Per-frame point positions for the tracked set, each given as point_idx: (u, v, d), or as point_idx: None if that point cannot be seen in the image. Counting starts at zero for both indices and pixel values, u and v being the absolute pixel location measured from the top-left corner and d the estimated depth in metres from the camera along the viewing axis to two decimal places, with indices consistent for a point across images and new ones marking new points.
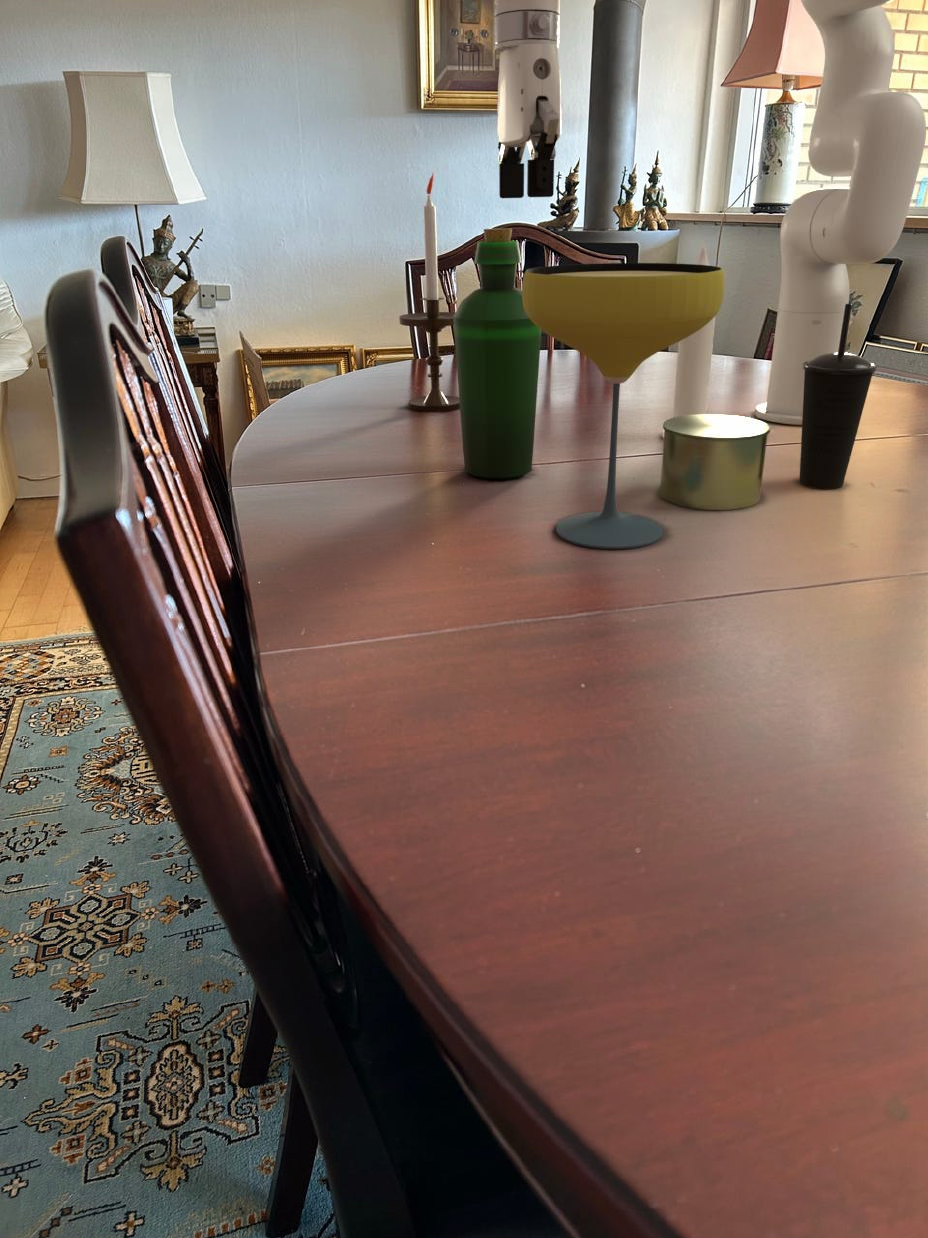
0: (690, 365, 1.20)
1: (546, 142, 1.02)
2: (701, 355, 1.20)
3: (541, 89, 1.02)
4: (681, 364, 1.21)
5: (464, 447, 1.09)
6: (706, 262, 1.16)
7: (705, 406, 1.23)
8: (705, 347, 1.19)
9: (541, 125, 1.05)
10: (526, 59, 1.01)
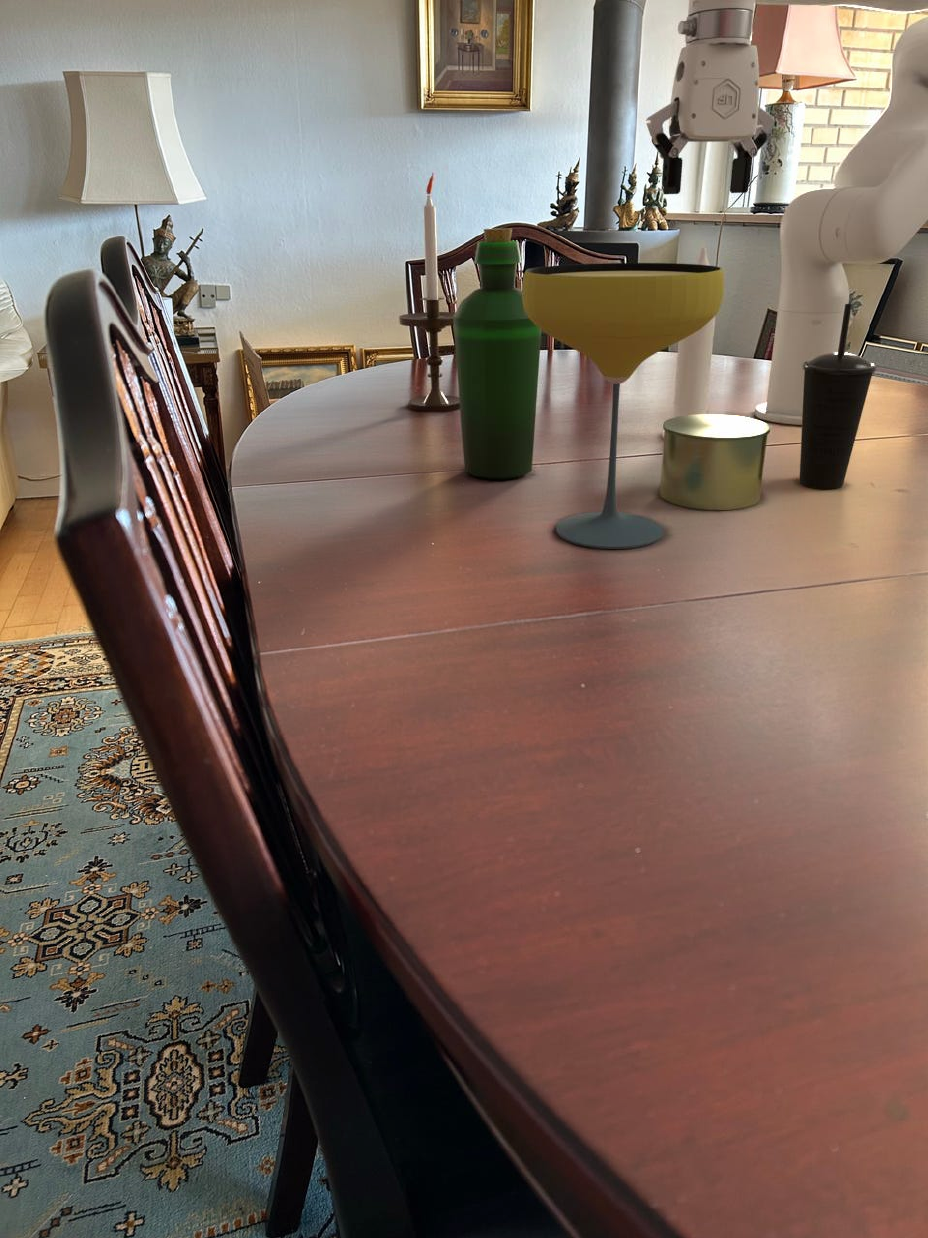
0: (690, 365, 1.20)
1: (654, 143, 1.09)
2: (701, 355, 1.20)
3: (676, 91, 1.07)
4: (681, 364, 1.21)
5: (464, 447, 1.09)
6: (706, 262, 1.16)
7: (705, 406, 1.23)
8: (705, 347, 1.19)
9: None
10: (677, 64, 1.08)
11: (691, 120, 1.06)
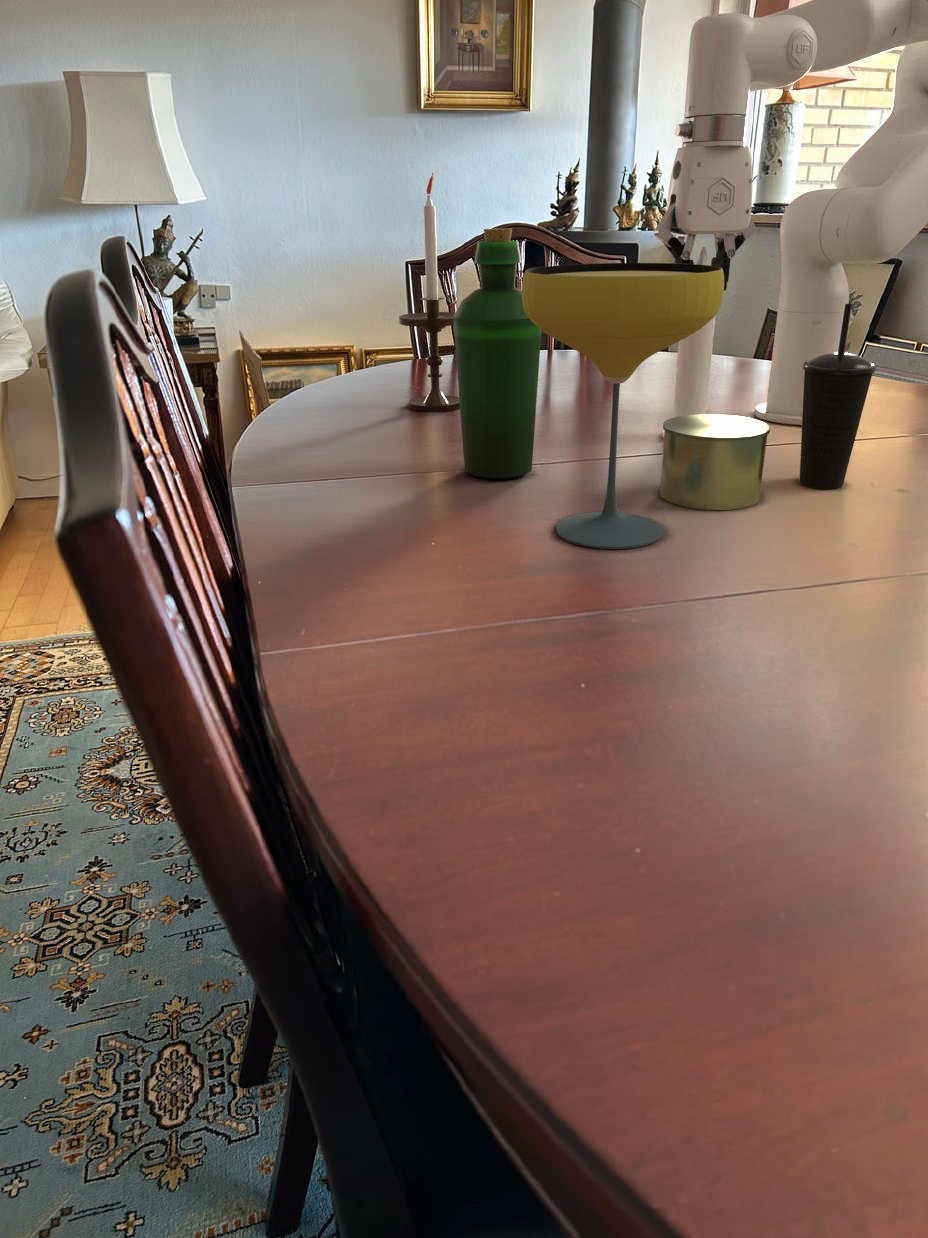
0: (690, 365, 1.20)
1: (667, 246, 1.15)
2: (701, 355, 1.20)
3: (673, 188, 1.12)
4: (681, 364, 1.21)
5: (464, 447, 1.09)
6: (706, 262, 1.16)
7: (705, 406, 1.23)
8: (705, 347, 1.19)
9: None
10: (674, 162, 1.12)
11: (687, 217, 1.11)
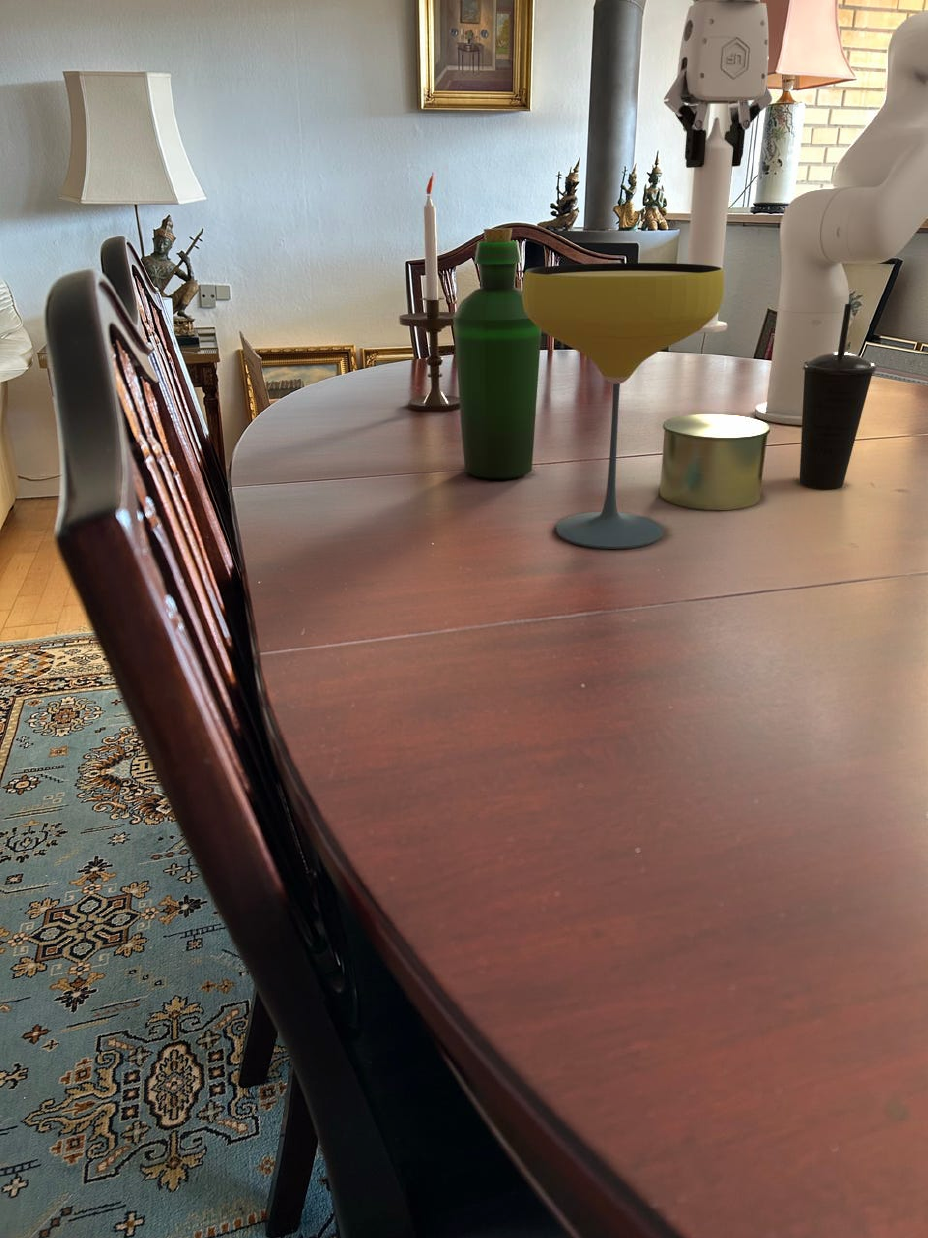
0: (702, 248, 1.14)
1: (677, 115, 1.08)
2: (714, 236, 1.13)
3: (684, 51, 1.05)
4: (693, 247, 1.15)
5: (464, 447, 1.09)
6: (719, 134, 1.10)
7: None
8: (718, 228, 1.13)
9: None
10: (685, 23, 1.06)
11: (699, 80, 1.04)
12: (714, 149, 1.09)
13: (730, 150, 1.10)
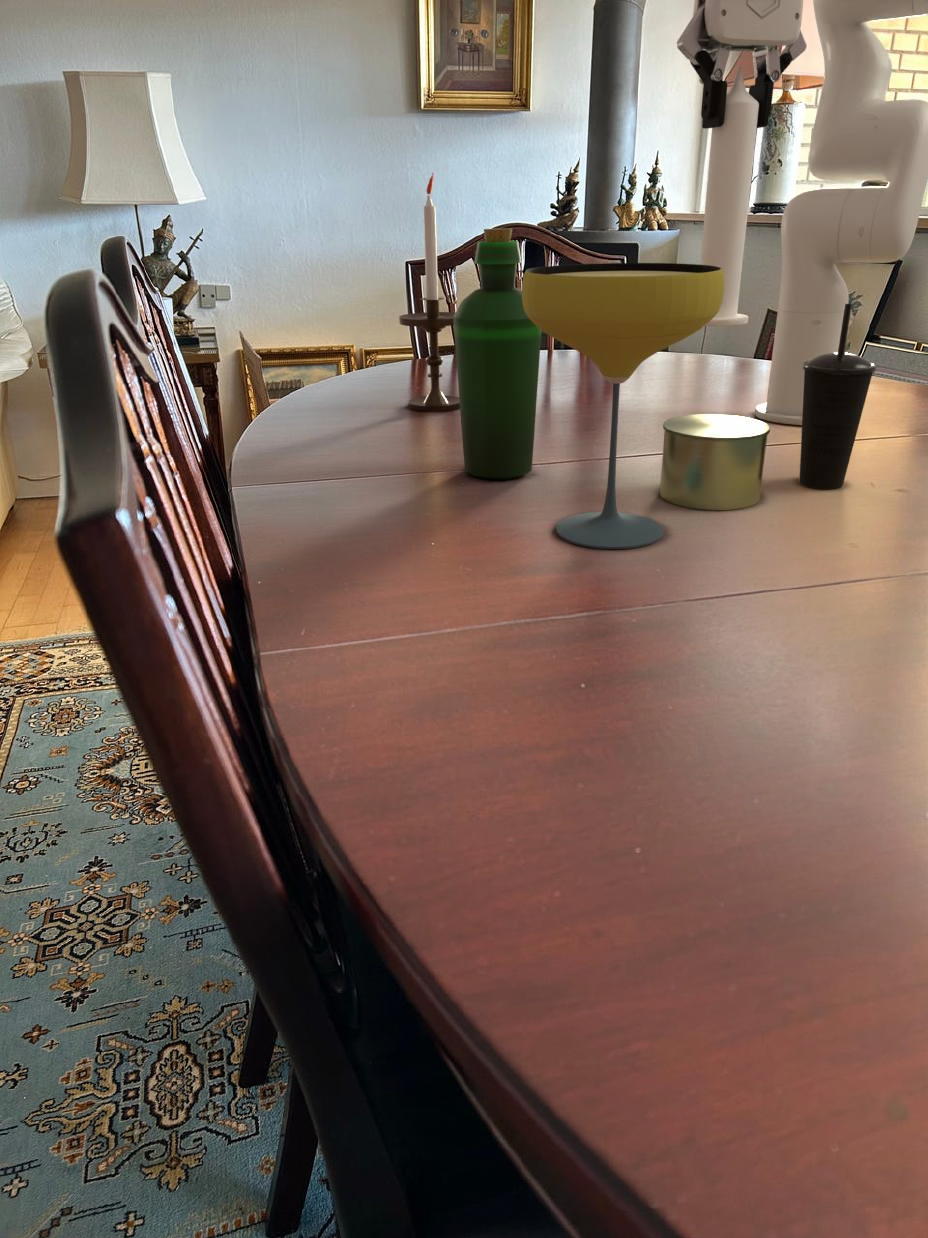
0: (721, 224, 0.95)
1: (693, 63, 0.90)
2: (735, 211, 0.95)
3: None
4: (709, 224, 0.96)
5: (464, 446, 1.09)
6: (743, 87, 0.91)
7: (738, 280, 0.98)
8: (740, 200, 0.94)
9: None
10: None
11: (721, 18, 0.86)
12: (736, 105, 0.91)
13: (756, 106, 0.91)
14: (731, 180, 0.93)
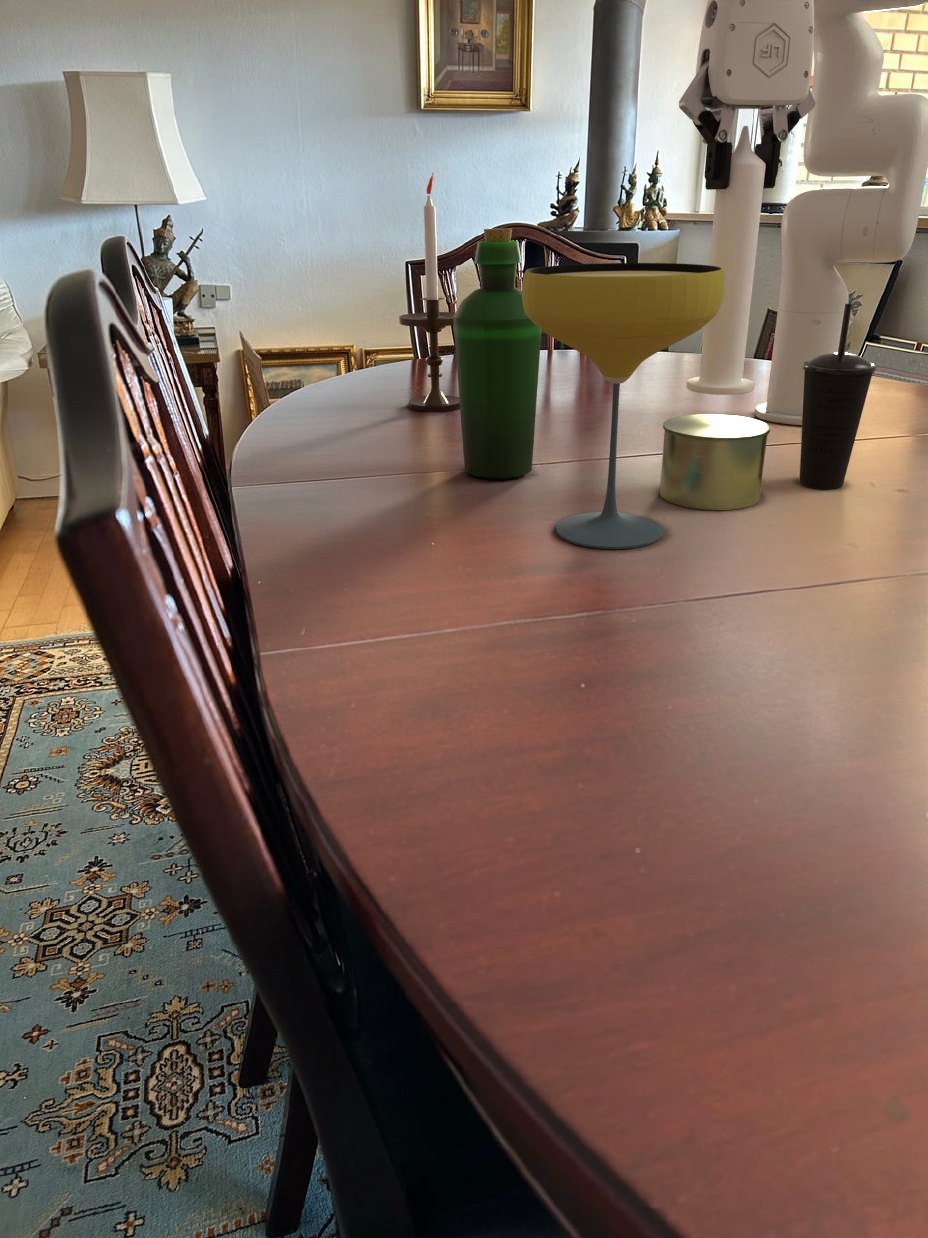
0: (725, 289, 0.90)
1: (696, 124, 0.85)
2: (740, 275, 0.90)
3: (706, 41, 0.82)
4: None
5: (464, 446, 1.09)
6: (748, 147, 0.86)
7: (744, 346, 0.93)
8: (746, 265, 0.89)
9: None
10: None
11: (726, 78, 0.81)
12: (741, 166, 0.86)
13: (762, 167, 0.86)
14: (736, 244, 0.88)
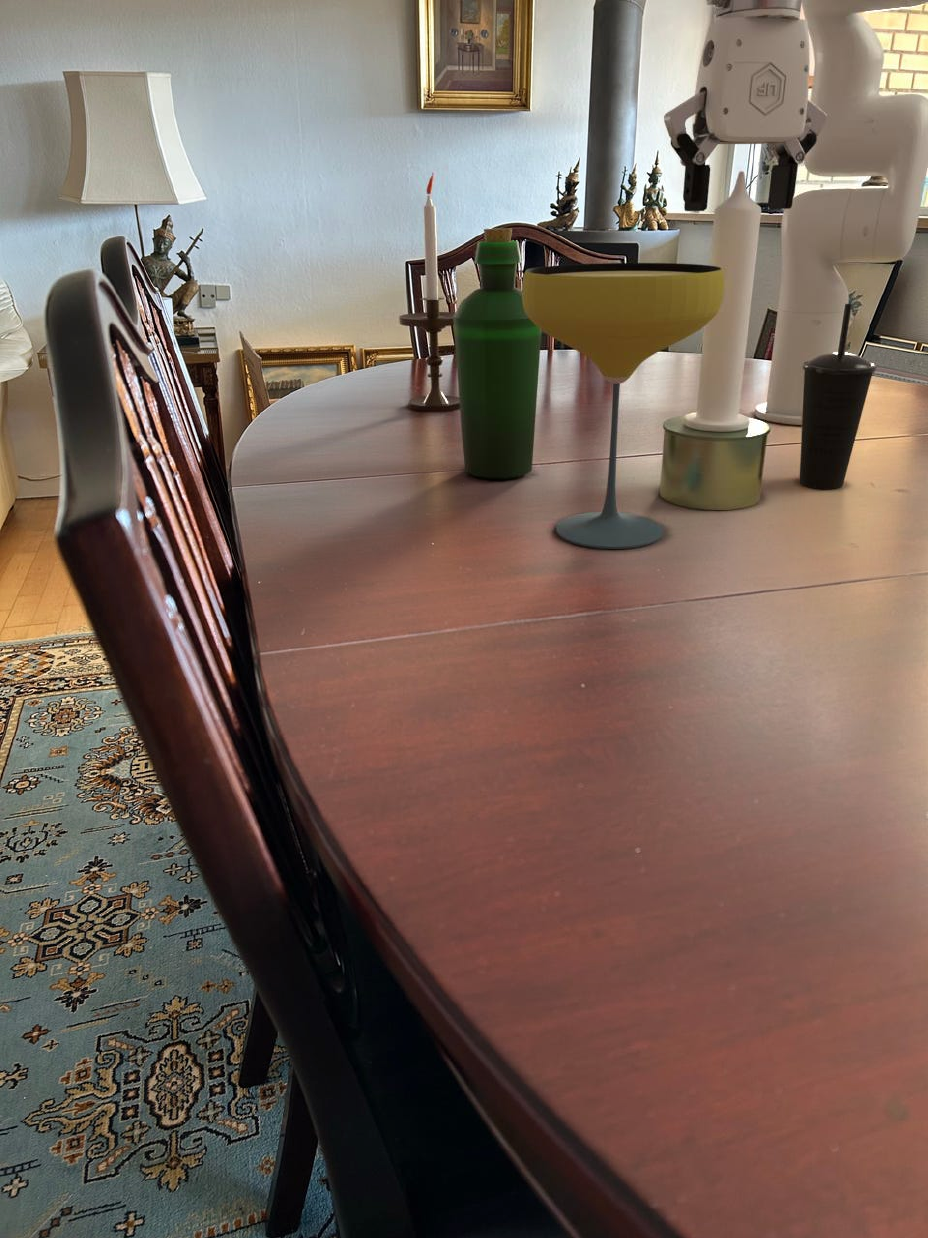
0: (722, 330, 0.92)
1: (674, 146, 0.85)
2: (736, 316, 0.91)
3: (703, 79, 0.83)
4: (710, 329, 0.93)
5: (464, 446, 1.09)
6: (744, 192, 0.88)
7: (740, 384, 0.95)
8: (742, 306, 0.91)
9: None
10: None
11: (722, 117, 0.82)
12: (738, 211, 0.87)
13: (758, 212, 0.88)
14: (732, 286, 0.90)
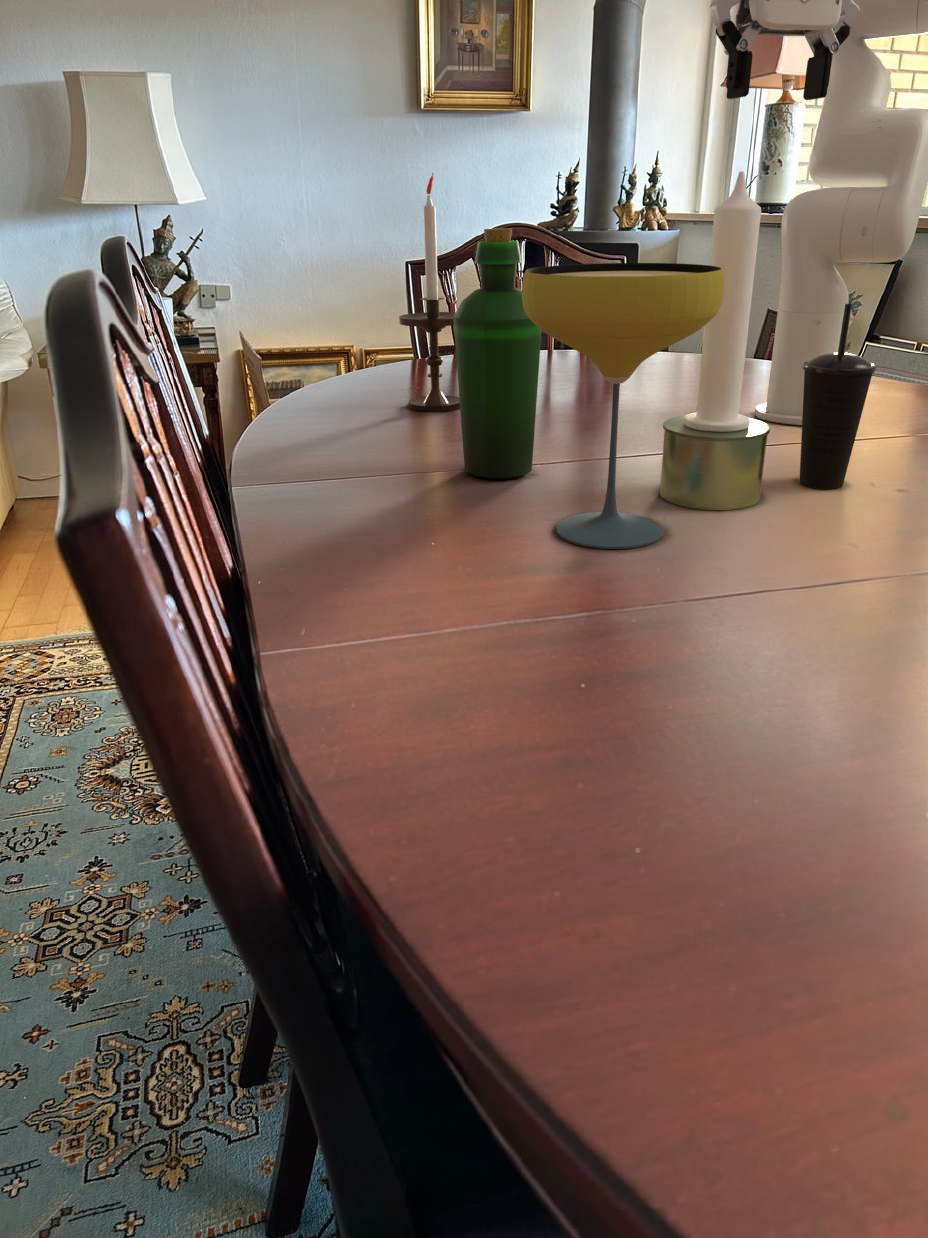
0: (722, 330, 0.92)
1: (719, 34, 0.92)
2: (736, 316, 0.91)
3: None
4: (710, 329, 0.93)
5: (464, 446, 1.09)
6: (744, 192, 0.88)
7: (740, 384, 0.95)
8: (742, 306, 0.91)
9: None
10: None
11: (765, 3, 0.89)
12: (738, 211, 0.87)
13: (758, 212, 0.88)
14: (732, 286, 0.90)
